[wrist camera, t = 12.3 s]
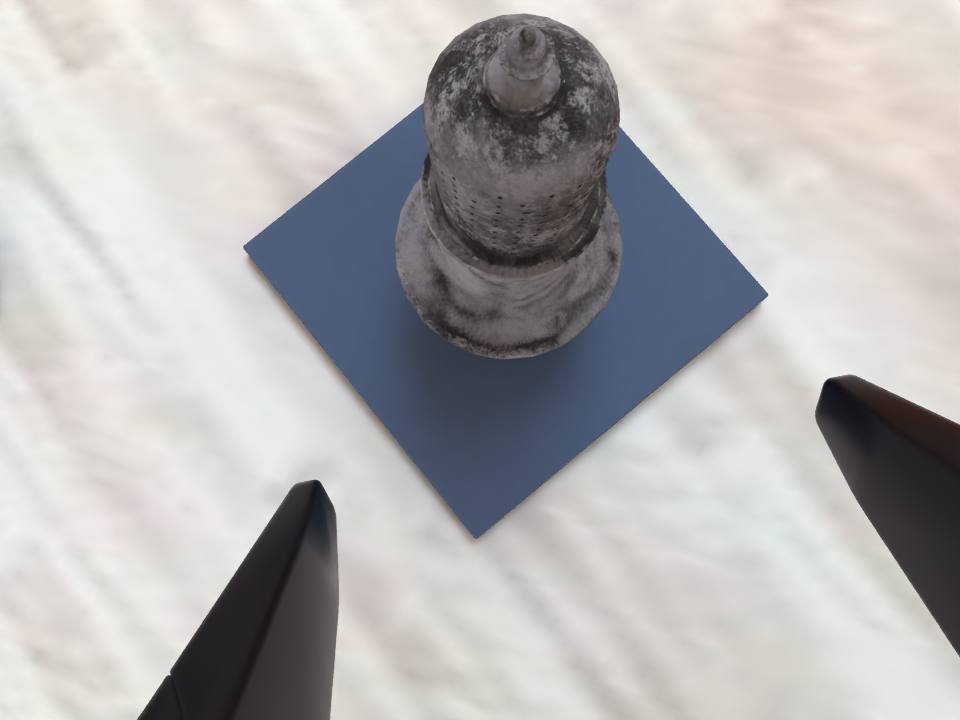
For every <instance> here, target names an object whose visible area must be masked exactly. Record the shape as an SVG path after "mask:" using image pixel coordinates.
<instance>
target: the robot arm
mask: <svg viewBox="0 0 960 720" xmlns="http://www.w3.org/2000/svg"><path fill="white" fill-rule="evenodd" d="M815 417H816V421H817V424H818V427H819V428H820V430H821V432H822V434H823V436H824V438H825V440H826V442H827V444H828V446H829V448H830V450H831V452H832V454H833V456H834V458H835V460H836V462H837V464H838V466H839V468H840V470H841V472H842V473H843V475H844V477H845V479H846V481H847V483H848V485H849V487H850V489H851V491H852V493H853V494H854V496H855V498H856V500H857V501H858V503H859V505H860V506H861V508H862V509H863V511H864V512H865V514H866V516H867V517H868V519H869V520H870V522H871V523H872V525H873V526H874V528H875V529H876V531H877V532H878V534H879V535H880V537H881V538H882V540H883V541H884V543H885V544H886V546H887V547H888V549H889V550H890V552H891V553H892V555H893V556H894V558H895V560H896V561H897V563H898V564H899V566H900V567H901V569H902V570H903V572H904V573H905V575H906V576H907V578H908V579H909V581H910V582H911V584H912V585H913V587H914V588H915V590H916V591H917V593H918V594H919V596H920V597H921V599H922V600H923V602H924V604H925V605H926V607H927V608H928V610H929V611H930V613H931V614H932V616H933V617H934V619H935V620H936V622H937V623H938V625H939V626H940V628H941V629H942V631H943V632H944V634H945V635H946V637H947V638H948V640H949V641H950V643H951V644H952V646H953V648H954V649H955V651H956V652H957V654H958V655H959V657H960V425H959V424H957V423H955V422H953V421H951V420H949V419H947V418H945V417H942V416H940V415H938V414H936V413H934V412H932V411H930V410H928V409H925V408H923V407H921V406H919V405H917V404H915V403H913V402H911V401H908V400H906V399H904V398H902V397H900V396H898V395H896V394H893V393H891V392H889V391H887V390H885V389H883V388H881V387H879V386H876V385H874V384H872V383H870V382H868V381H866V380H864V379H862V378H859V377H857V376H855V375H843V376H838V377H833V378H829V379H827V380H826V381H825V382H824V384H823V388H822V391H821V394H820V397H819V401H818V404H817V407H816V411H815ZM338 608H339V580H338V552H337V524H336V513H335V509H334V506H333V504H332V502H331V501H330V499H329V497H328V495H327V493H326V491H325V489H324V487H323V486H322V484H321V483H320V481H318V480H310V481H305V482H300V483H297V484H295V485H294V486H293V487H292V488H291V490H290V491H289V493H288V494H287V496H286V497H285V499H284V500H283V502H282V503H281V505H280V506H279V508H278V509H277V511H276V512H275V514H274V515H273V517H272V518H271V520H270V521H269V523H268V524H267V526H266V527H265V529H264V530H263V532H262V533H261V535H260V536H259V538H258V539H257V541H256V542H255V544H254V545H253V547H252V548H251V550H250V551H249V553H248V554H247V556H246V558H245V559H244V561H243V562H242V564H241V565H240V567H239V568H238V570H237V571H236V573H235V574H234V576H233V577H232V579H231V580H230V582H229V583H228V585H227V586H226V588H225V589H224V591H223V592H222V594H221V595H220V597H219V598H218V600H217V601H216V603H215V604H214V606H213V607H212V609H211V610H210V612H209V613H208V615H207V616H206V618H205V619H204V621H203V622H202V624H201V625H200V627H199V628H198V630H197V631H196V633H195V634H194V636H193V637H192V639H191V640H190V642H189V643H188V645H187V646H186V648H185V649H184V651H183V652H182V654H181V655H180V657H179V658H178V660H177V661H176V663H175V664H174V666H173V667H172V669H171V671H170V674H171V675H168V676H166V678H165V679H164V681H163V682H162V684H161V685H160V687H159V688H158V690H157V691H156V693H155V694H154V696H153V697H152V699H151V700H150V701H149V703H148V704H147V706H146V707H145V709H144V710H143V712H142V713H141V714H140V716H139V717H138V719H137V720H330V710H331V698H332V685H333V673H334V660H335V648H336V635H337V623H338Z"/></svg>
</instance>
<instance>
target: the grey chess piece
mask: <svg viewBox="0 0 960 720" xmlns="http://www.w3.org/2000/svg"><path fill="white" fill-rule="evenodd" d="M422 112H423V124H424V135H425V139H426V143H427V147H428V151H429V152H428V154H427V156H426V158H425V160H424V164H423V169H422V174H421V178H420V179H419V180H418V182H417V183H416V184H415V185H414V186H413V188H412V190H411V192H410V194H409V196H408V198H407V200H406V202H405V204H404V206H403V208H402V210H401V213H400V218H399V223H398V227H397V232H396V237H395V249H396V264H397V271H398V274H399V277H400V280H401V283H402V286H403V288H404V291H405V294H406V297H407V298H408V300H409V301H410V303H411V304H412V306H413V307H414V309H415V310H416V312H417V313H418V315H419V316H420V317H421V319H422V320H423V322H424V323H426V324H427V325H428V326H429V327H430V328H431V329H433V330H434V331H435V332H436V333H437V334H438V335H440V336H441V337H442V338H443V339H444V340H445V341H447V342H449V343H451V344H453V345H456V346H458V347H460V348H462V349H464V350H466V351H468V352H470V353H472V354H477V355H480V356H485V357H491V358H496V359H513V358H524V357H533V356H536V355H539V354H542V353H545V352H548V351H550V350H553V349H556V348H559V347H561V346H563V345H564V344H566V343H567V342H569V341H570V340H571V339H573V338H574V337H576V336H577V335H579V334H580V333H582V332H583V331H585V330H586V329H587V328H588V326H589V325H590V324H591V323H592V322H593V321H594V319H595V318H596V317H597V316H598V315H599V314H600V312H601V311H602V310H603V309H604V308H605V306H606V304H607V302H608V300H609V298H610V296H611V293H612V291H613V289H614V287H615V285H616V283H617V281H618V276H619V270H620V265H621V259H622V253H623V247H622V238H621V228H620V221H619V218H618V215H617V213H616V210H615V208H614V205H613V203H612V200H611V197H610V195H609V193H608V185H607V176H606V169H605V167H606V165H607V163H608V161H609V158H610V156H611V154H612V152H613V150H614V148H615V145H616V140H617V134H618V128H619V122H620V109H619V100H618V91H617V85H616V83H615V80H614V78H613V75H612V73H611V70H610V68H609V66H608V63H607V62H606V61H605V59H604V58H603V57H602V55H601V54H600V53H599V52H598V50H597V49H596V48H595V46H594V45H593V44H592V43H591V42H590V41H588V40H587V39H586V38H584V37H583V36H582V35H581V34H579V33H578V32H577V31H576V30H574V29H573V28H571V27H568V26H566V25H564V24H562V23H559V22H557V21H555V20H553V19H550V18H547V17H542V16H536V15H530V14H514V15H502V16H498V17H495V18H492V19H489V20H486V21H483V22H480V23H477V24H475V25H473V26H472V27H470V28H469V29H467V30H466V31H464V32H463V33H461V34H460V35H458V36H457V37H455V38H454V39H453V41H452V42H451V43H450V44H449V45H448V46H447V47H446V48H445V49H444V51H443V52H442V53H441V54H440V55H439V57H438V59H437V61H436V63H435V65H434V67H433V69H432V71H431V73H430V75H429V78H428V83H427V88H426V94H425V99H424V104H423V109H422Z"/></svg>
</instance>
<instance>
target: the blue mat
mask: <svg viewBox="0 0 960 720" xmlns="http://www.w3.org/2000/svg"><path fill="white" fill-rule="evenodd" d="M423 104H424V103H423ZM423 104H422V105H421V106H419V107H418V108H417V109H416V110H414V111H413V112H412V113H411V114H409V115H408V116H407V117H406V118H404V119H403V120H402V121H400V122H399V123H398V124H397V125H395V126H394V127H393V128H392V129H390V130H389V131H388V132H387V133H385V134H384V135H383V136H382V137H380V138H379V139H378V140H377V141H375V142H374V143H373V144H372V145H370V146H369V147H368V148H366V149H365V150H364V151H363V152H361V153H360V154H359V155H358V156H356V157H355V158H354V159H353V160H351V161H350V162H349V163H348V164H346V165H345V166H344V167H343V168H341V169H340V170H339V171H337V172H336V173H335V174H334V175H332V176H331V177H330V178H329V179H327V180H326V181H325V182H324V183H322V184H321V185H320V186H319V187H317V188H316V189H315V190H314V191H312V192H311V193H310V194H309V195H307V196H306V197H305V198H303V199H302V200H301V201H300V202H298V203H297V204H296V205H295V206H293V207H292V208H291V209H290V210H288V211H287V212H286V213H285V214H283V215H282V216H281V217H280V218H278V219H277V220H276V221H275V222H273V223H272V224H271V225H269V226H268V227H267V228H266V229H264V230H263V231H262V232H261V233H259V234H258V235H257V236H256V237H254V238H253V239H252V240H251V241H249V242H248V243H247V244H246V245H244V246H243V248H244V250H245V251H246V252H247V253H248V255H249V256H250V257H251V258H252V260H253V261H254V262H255V263H256V265H257V266H258V267H259V268H260V270H261V271H262V272H263V273H264V275H265V276H266V277H267V279H268V280H269V281H270V282H271V284H272V285H273V286H274V287H275V289H276V290H277V291H278V292H279V294H280V295H281V296H282V297H283V299H284V300H285V301H286V302H287V304H288V305H289V306H290V307H291V309H292V310H293V311H294V312H295V314H296V315H297V316H298V317H299V319H300V320H301V321H302V322H303V324H304V325H305V326H306V327H307V329H308V330H309V331H310V332H311V334H312V335H313V336H314V337H315V339H316V340H317V341H318V342H319V344H320V345H321V346H322V348H323V349H324V350H325V351H326V353H327V354H328V355H329V356H330V358H331V359H332V360H333V361H334V363H335V364H336V365H337V366H338V368H339V369H340V370H341V371H342V373H343V374H344V375H345V376H346V378H347V379H348V380H349V381H350V383H351V384H352V385H353V386H354V388H355V389H356V390H357V391H358V393H359V394H360V395H361V396H362V398H363V399H364V400H365V401H366V403H367V404H368V405H369V406H370V408H371V409H372V410H373V411H374V413H375V414H376V415H377V416H378V418H379V419H380V420H381V422H382V423H383V424H384V425H385V427H386V428H387V429H388V430H389V432H390V433H391V434H392V435H393V437H394V438H395V439H396V440H397V442H398V443H399V444H400V445H401V447H402V448H403V449H404V450H405V452H406V453H407V454H408V455H409V457H410V458H411V459H412V460H413V462H414V463H415V464H416V465H417V467H418V468H419V469H420V470H421V472H422V473H423V474H424V475H425V477H426V478H427V479H428V480H429V482H430V483H431V484H432V485H433V487H434V488H435V489H436V491H437V492H438V493H439V494H440V496H441V497H442V498H443V499H444V501H445V502H446V503H447V504H448V506H449V507H450V508H451V509H452V511H453V512H454V513H455V514H456V516H457V517H458V518H459V519H460V521H461V522H462V523H463V524H464V526H465V527H466V528H467V529H468V531H469V532H470V533H471V534H472V536H473V537H474V538H475V539H477V538H479V537H480V536H481V535H482V534H483V533H485V532H486V531H487V530H488V529H489V528H491V527H492V526H493V525H494V524H495V523H497V522H498V521H499V520H500V519H501V518H503V517H504V516H505V515H506V514H507V513H509V512H510V511H511V510H512V509H513V508H515V507H516V506H517V505H518V504H519V503H521V502H522V501H523V500H524V499H525V498H527V497H528V496H529V495H530V494H531V493H533V492H534V491H535V490H536V489H537V488H539V487H540V486H541V485H542V484H543V483H545V482H546V481H547V480H548V479H549V478H551V477H552V476H553V475H554V474H555V473H557V472H558V471H559V470H560V469H561V468H563V467H564V466H565V465H566V464H567V463H569V462H570V461H571V460H572V459H573V458H575V457H576V456H577V455H578V454H579V453H581V452H582V451H583V450H584V449H585V448H587V447H588V446H589V445H590V444H591V443H593V442H594V441H595V440H596V439H597V438H599V437H600V436H601V435H602V434H603V433H605V432H606V431H607V430H608V429H609V428H610V427H612V426H613V425H614V424H615V423H616V422H618V421H619V420H620V419H621V418H622V417H624V416H625V415H626V414H627V413H628V412H630V411H631V410H632V409H633V408H634V407H636V406H637V405H638V404H639V403H640V402H642V401H643V400H644V399H645V398H646V397H648V396H649V395H650V394H651V393H652V392H654V391H655V390H656V389H657V388H658V387H660V386H661V385H662V384H663V383H664V382H666V381H667V380H668V379H669V378H670V377H672V376H673V375H674V374H675V373H676V372H678V371H679V370H680V369H681V368H682V367H684V366H685V365H686V364H687V363H688V362H690V361H691V360H692V359H693V358H694V357H696V356H697V355H698V354H699V353H700V352H702V351H703V350H704V349H705V348H706V347H708V346H709V345H710V344H711V343H712V342H714V341H715V340H716V339H717V338H718V337H720V336H721V335H722V334H723V333H724V332H726V331H727V330H728V329H729V328H730V327H732V326H733V325H734V324H735V323H736V322H738V321H739V320H740V319H741V318H742V317H744V316H745V315H746V314H747V313H748V312H750V311H751V310H752V309H753V308H754V307H756V306H757V305H758V304H759V303H760V302H761V301H763V300H764V299H765V298H766V297H767V296H768V293H767V292H766V291H765V290H764V289H763V288H762V286H761V285H760V284H759V283H758V282H757V281H756V280H755V279H754V277H753V276H752V275H751V274H750V273H749V272H748V271H747V270H746V268H745V267H744V266H743V265H742V264H741V263H740V262H739V261H738V259H737V258H736V257H735V256H734V255H733V254H732V253H731V252H730V250H729V249H728V248H727V247H726V246H725V245H724V244H723V243H722V241H721V240H720V239H719V238H718V237H717V236H716V235H715V234H714V232H713V231H712V230H711V229H710V228H709V227H708V226H707V225H706V224H705V222H704V221H703V220H702V219H701V218H700V217H699V216H698V215H697V213H696V212H695V211H694V210H693V209H692V208H691V207H690V206H689V204H688V203H687V202H686V201H685V200H684V199H683V198H682V197H681V195H680V194H679V193H678V192H677V191H676V190H675V189H674V188H673V186H672V185H671V184H670V183H669V182H668V181H667V180H666V179H665V177H664V176H663V175H662V174H661V173H660V172H659V171H658V170H657V168H656V167H655V166H654V165H653V164H652V163H651V162H650V161H649V159H648V158H647V157H646V156H645V155H644V154H643V153H642V152H641V150H640V149H639V148H638V147H637V146H636V145H635V144H634V143H633V141H632V140H631V139H630V138H629V137H628V136H627V135H626V134H625V132H624V131H623V130H622V129H621V128H620V127H619V128H618V134H617V140H616V145H615V148H614V150H613V152H612V154H611V156H610V158H609V161H608V163H607V165H606V167H605V169H606V176H607V185H608V193H609V195H610V197H611V200H612V203H613V205H614V208H615V210H616V213H617V215H618V218H619V221H620V228H621V238H622V247H623V253H622V259H621V265H620V270H619V276H618V281H617V283H616V285H615V287H614V289H613V291H612V293H611V296H610V298H609V300H608V302H607V304H606V306H605V308H604V309H603V310H602V311H601V312H600V314H599V315H598V316H597V317H596V318H595V319H594V321H593V322H592V323H591V324H590V325H589V326H588V328H587V329H586V330H585V331H583V332H582V333H580V334H579V335H577V336H576V337H574V338H573V339H571V340H570V341H569V342H567V343H566V344H564V345H563V346H561V347H559V348H556V349H553V350H550V351H548V352H545V353H542V354H539V355H536V356H533V357H524V358H513V359H496V358H491V357H485V356H480V355H477V354H472V353H470V352H468V351H466V350H464V349H462V348H460V347H458V346H456V345H453V344H451V343H449V342H447V341H445V340H444V339H443V338H442V337H441V336H440V335H438V334H437V333H436V332H435V331H434V330H433V329H431V328H430V327H429V326H428V325H427V324H426V323H424V322H423V320H422V319H421V317H420V316H419V315H418V313H417V312H416V310H415V309H414V307H413V306H412V304H411V303H410V301H409V300H408V298H407V297H406V294H405V291H404V288H403V286H402V283H401V280H400V277H399V274H398V271H397V264H396V249H395V237H396V232H397V227H398V223H399V218H400V213H401V210H402V208H403V206H404V204H405V202H406V200H407V198H408V196H409V194H410V192H411V190H412V188H413V186H414V185H415V184H416V183H417V182H418V180H419V179H420V178H421V174H422V169H423V164H424V160H425V158H426V156H427V154H428V152H429V151H428V147H427V143H426V139H425V135H424V124H423V112H422V109H423Z"/></svg>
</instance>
